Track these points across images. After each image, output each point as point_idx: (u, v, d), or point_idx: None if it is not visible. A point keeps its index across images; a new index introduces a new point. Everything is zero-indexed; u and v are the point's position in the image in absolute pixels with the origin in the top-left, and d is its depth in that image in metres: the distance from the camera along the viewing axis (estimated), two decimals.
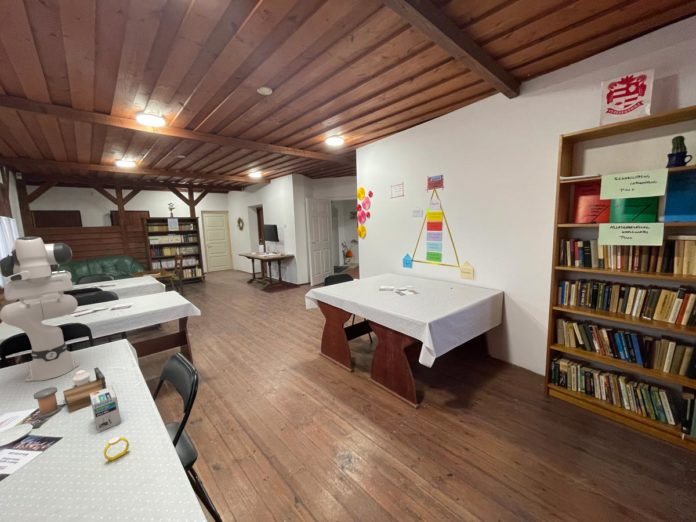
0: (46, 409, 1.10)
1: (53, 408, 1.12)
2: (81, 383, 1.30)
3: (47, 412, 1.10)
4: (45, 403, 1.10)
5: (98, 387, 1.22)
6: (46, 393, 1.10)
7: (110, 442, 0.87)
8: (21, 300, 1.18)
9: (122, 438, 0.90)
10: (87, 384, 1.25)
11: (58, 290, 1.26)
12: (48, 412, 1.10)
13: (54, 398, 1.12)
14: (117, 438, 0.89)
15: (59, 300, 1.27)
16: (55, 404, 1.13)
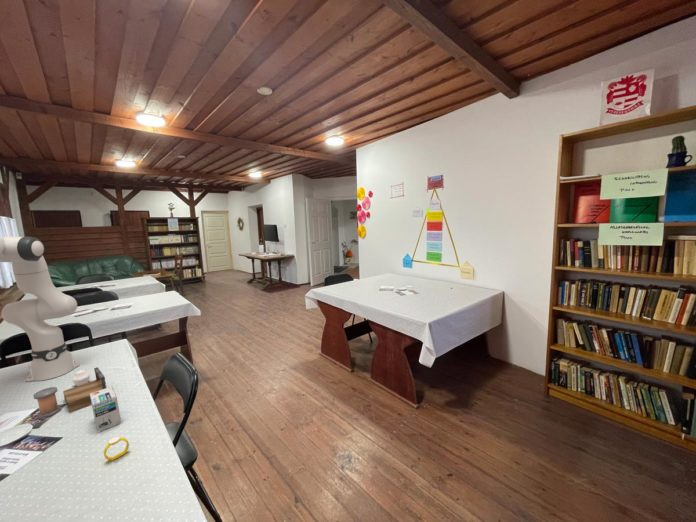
0: (46, 409, 1.10)
1: (53, 408, 1.12)
2: (81, 383, 1.30)
3: (47, 412, 1.10)
4: (45, 403, 1.10)
5: (98, 387, 1.22)
6: (46, 393, 1.10)
7: (110, 442, 0.87)
8: None
9: (122, 438, 0.90)
10: (87, 384, 1.25)
11: None
12: (48, 412, 1.10)
13: (54, 398, 1.12)
14: (117, 438, 0.89)
15: None
16: (55, 404, 1.13)
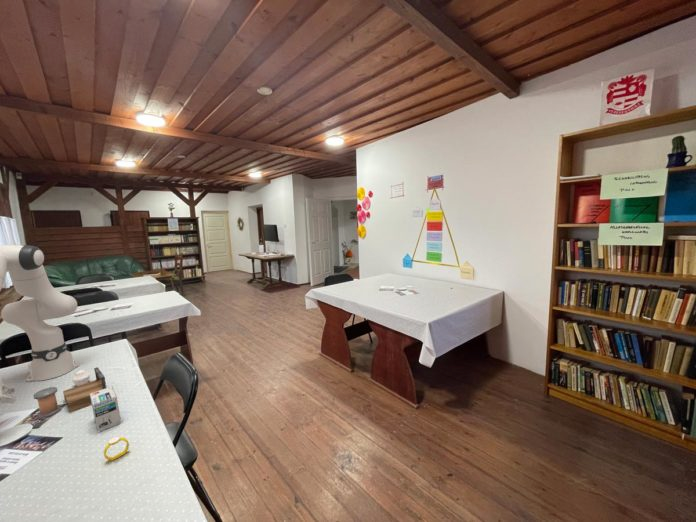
0: (46, 409, 1.10)
1: (53, 408, 1.12)
2: (81, 383, 1.30)
3: (47, 412, 1.10)
4: (45, 403, 1.10)
5: (98, 387, 1.22)
6: (46, 393, 1.10)
7: (110, 442, 0.87)
8: None
9: (122, 438, 0.90)
10: (87, 384, 1.25)
11: None
12: (48, 412, 1.10)
13: (54, 398, 1.12)
14: (117, 438, 0.89)
15: None
16: (55, 404, 1.13)
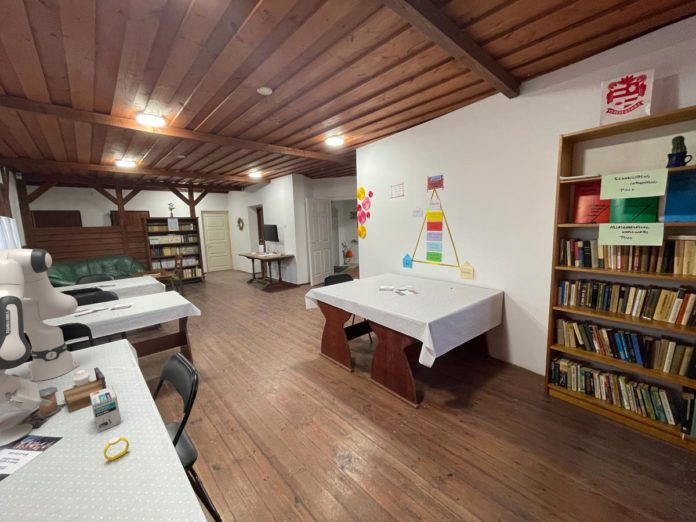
0: (46, 409, 1.10)
1: (53, 408, 1.12)
2: (81, 383, 1.30)
3: (47, 412, 1.10)
4: None
5: (98, 387, 1.22)
6: (46, 393, 1.10)
7: (110, 442, 0.87)
8: None
9: (122, 438, 0.90)
10: (87, 384, 1.25)
11: None
12: (48, 412, 1.10)
13: (54, 398, 1.12)
14: (117, 438, 0.89)
15: None
16: (55, 404, 1.13)
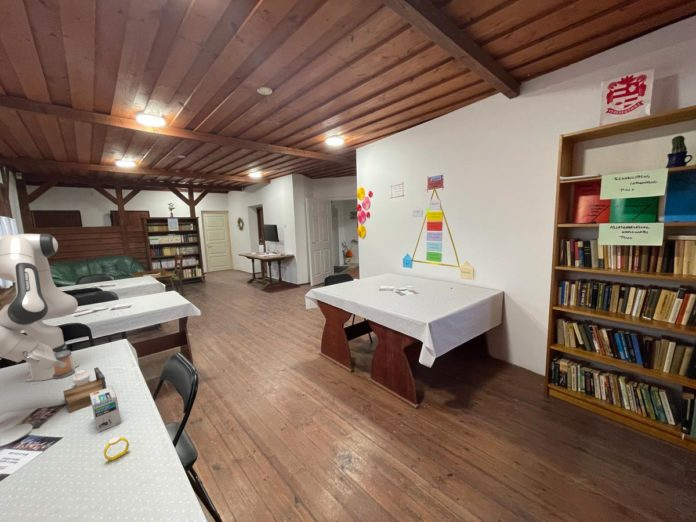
0: (61, 371, 1.13)
1: (67, 370, 1.14)
2: (81, 383, 1.30)
3: (62, 374, 1.13)
4: None
5: (98, 387, 1.22)
6: (61, 355, 1.13)
7: (110, 442, 0.87)
8: None
9: (122, 438, 0.90)
10: (87, 384, 1.25)
11: None
12: (62, 374, 1.13)
13: (68, 361, 1.15)
14: (117, 438, 0.89)
15: None
16: (69, 366, 1.15)
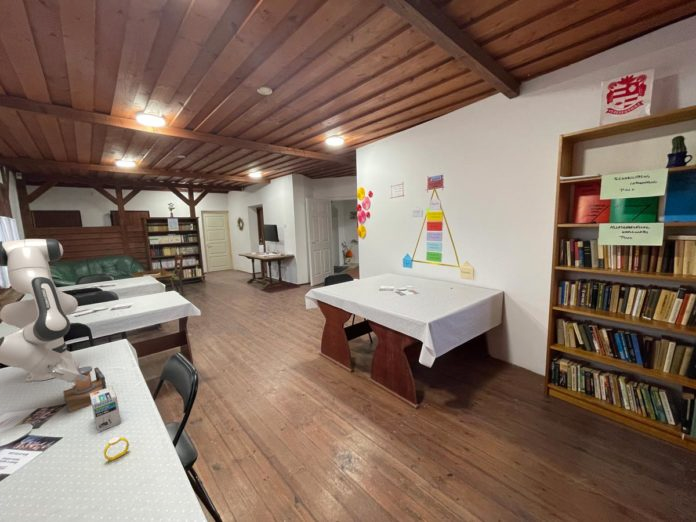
0: (82, 387, 1.18)
1: (88, 385, 1.19)
2: None
3: (83, 389, 1.18)
4: (81, 380, 1.17)
5: (98, 387, 1.22)
6: (82, 371, 1.18)
7: (110, 442, 0.87)
8: None
9: (122, 438, 0.90)
10: None
11: None
12: (84, 389, 1.18)
13: (89, 376, 1.20)
14: (117, 438, 0.89)
15: None
16: (90, 382, 1.20)
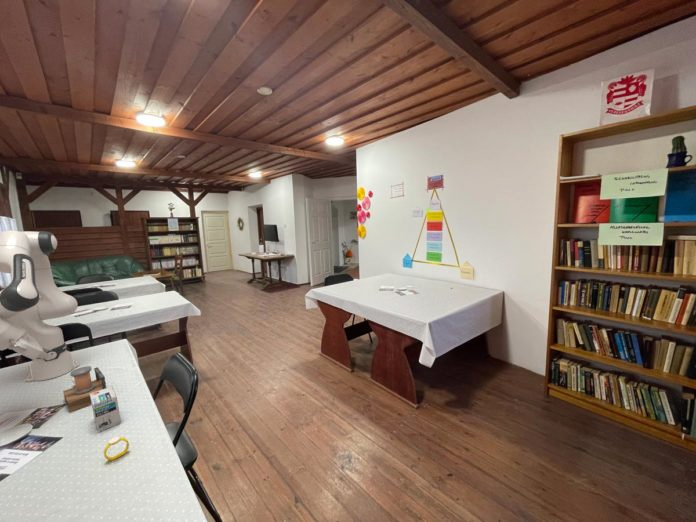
0: (82, 386, 1.18)
1: (88, 385, 1.19)
2: None
3: (83, 389, 1.18)
4: (81, 380, 1.17)
5: (98, 387, 1.22)
6: (82, 371, 1.18)
7: (110, 442, 0.87)
8: None
9: (122, 438, 0.90)
10: None
11: None
12: (84, 389, 1.18)
13: (89, 376, 1.20)
14: (117, 438, 0.89)
15: None
16: (90, 382, 1.20)
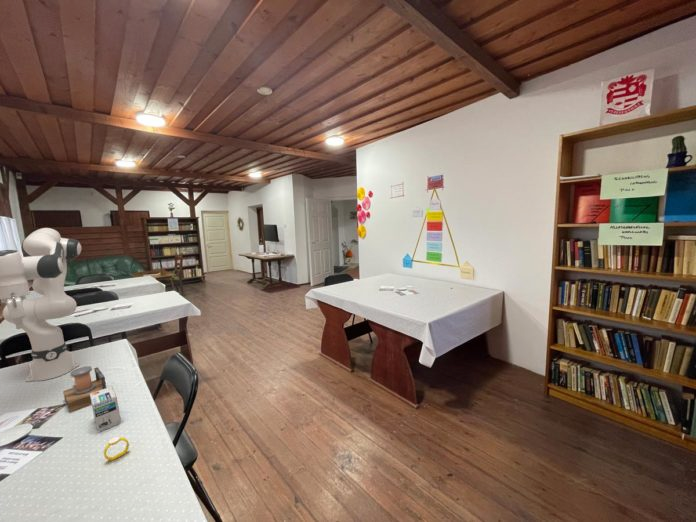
0: (83, 386, 1.18)
1: (89, 385, 1.19)
2: None
3: (83, 389, 1.18)
4: (81, 380, 1.17)
5: (98, 387, 1.22)
6: (82, 371, 1.18)
7: (110, 442, 0.87)
8: None
9: (122, 438, 0.90)
10: None
11: None
12: (84, 389, 1.18)
13: (89, 376, 1.20)
14: (117, 438, 0.89)
15: (16, 326, 1.09)
16: (90, 382, 1.20)
